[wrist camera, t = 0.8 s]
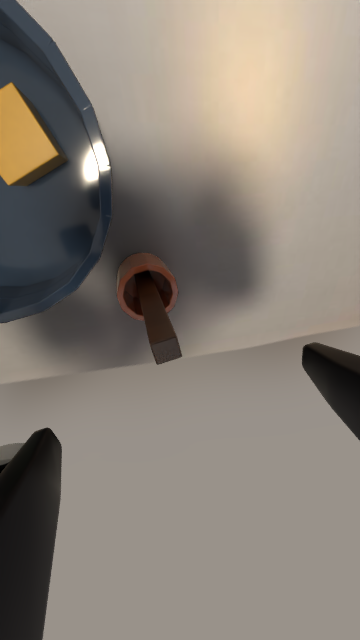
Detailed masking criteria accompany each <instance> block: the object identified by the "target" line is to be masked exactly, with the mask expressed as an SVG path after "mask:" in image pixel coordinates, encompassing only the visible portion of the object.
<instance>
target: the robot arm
mask: <svg viewBox="0 0 360 640" xmlns="http://www.w3.org/2000/svg"><path fill="white" fill-rule="evenodd" d="M302 365H303V368H304V370H305V371H306V373H307V374H308V375H309V377H310V378H311V380H312V381H313V383H314V384H315V386H316V387H317V388H318V390H319V391H320V393H321V394H322V396H323V397H324V398H325V400H326V401H327V402H328V404H329V405H330V406H331V408H332V409H333V410H334V411H335V412H336V413H337V415H338V416H339V417H340V418H341V419H342V421H343V422H344V423H345V424H346V425H347V426H348V428H349V429H350V430H351V431H352V432H353V433H354V434H355V436H356V437H357V438H358V439H359V440H360V356H358V355H355V354H352V353H349V352H345V351H342V350H339V349H336V348H332V347H329V346H326V345H323V344H320V343H310V344H307V345H305V346H304V347H303V355H302ZM61 448H62V447H61V444H60V442H59V440H58V439H57V437H56V436H55V434H54V433H53V432H52V430H51V429H50V428H44V429H41V430H38V431H36V432H34V433H33V434H32V435H31V437H30V438H29V439H28V440H27V442H26V443H25V444H24V445H23V446H22V448H21V449H20V450H19V451H18V453H17V454H16V455H15V456H14V458H13V459H12V460H11V461H10V462H9V463H6V464H3V465H0V640H42V638H43V630H44V623H45V615H46V607H47V600H48V592H49V584H50V577H51V569H52V561H53V553H54V546H55V538H56V530H57V522H58V514H59V506H60V495H61V458H62V449H61Z"/></svg>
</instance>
